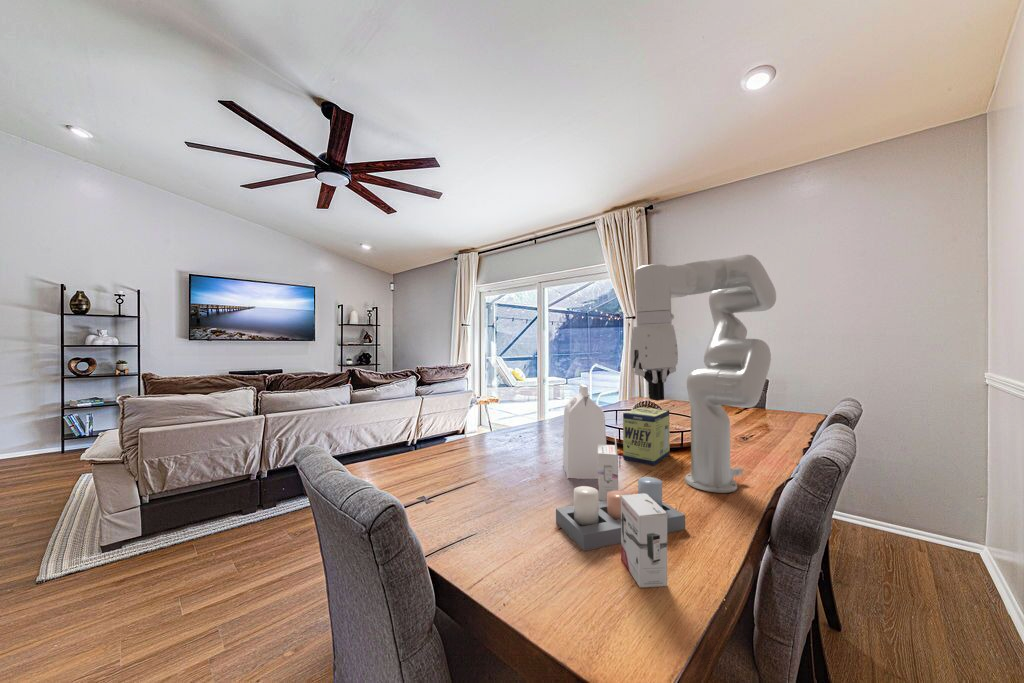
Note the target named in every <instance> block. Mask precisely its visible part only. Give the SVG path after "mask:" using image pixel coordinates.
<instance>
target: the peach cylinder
mask: <svg viewBox="0 0 1024 683" xmlns="http://www.w3.org/2000/svg"><path fill="white" fill-rule="evenodd" d="M621 495H630V493H628V492H626V491H622V490H618V491H610V492H608V493H607V514H608V515H609V516H611V517H612V518H613V519H615V520H619V519H621Z"/></svg>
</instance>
